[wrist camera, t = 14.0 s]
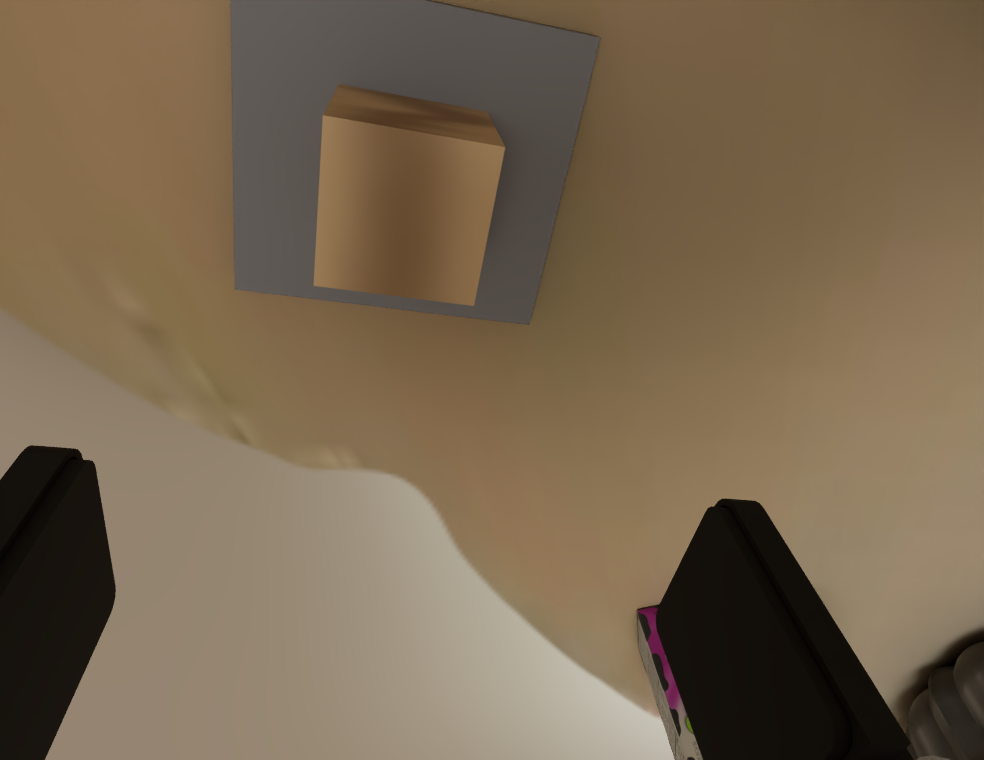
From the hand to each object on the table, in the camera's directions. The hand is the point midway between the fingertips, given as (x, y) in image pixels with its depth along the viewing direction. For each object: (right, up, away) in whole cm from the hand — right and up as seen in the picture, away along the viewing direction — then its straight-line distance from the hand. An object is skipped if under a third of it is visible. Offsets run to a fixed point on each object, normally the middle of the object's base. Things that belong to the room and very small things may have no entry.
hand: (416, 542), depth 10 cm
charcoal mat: (-3, +12, +19) cm, 22 cm away
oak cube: (-3, +11, +18) cm, 21 cm away
